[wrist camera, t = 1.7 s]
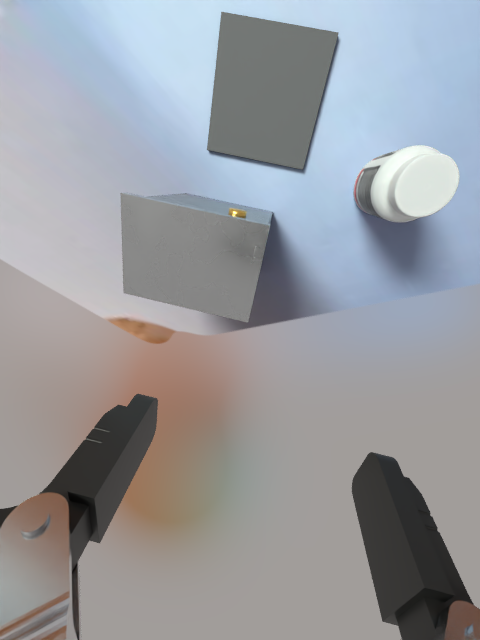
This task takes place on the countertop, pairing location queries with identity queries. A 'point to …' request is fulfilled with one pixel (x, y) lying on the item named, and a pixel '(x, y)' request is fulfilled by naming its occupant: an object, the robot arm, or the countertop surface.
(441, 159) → the pill bottle
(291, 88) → the pad
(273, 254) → the countertop surface
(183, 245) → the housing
